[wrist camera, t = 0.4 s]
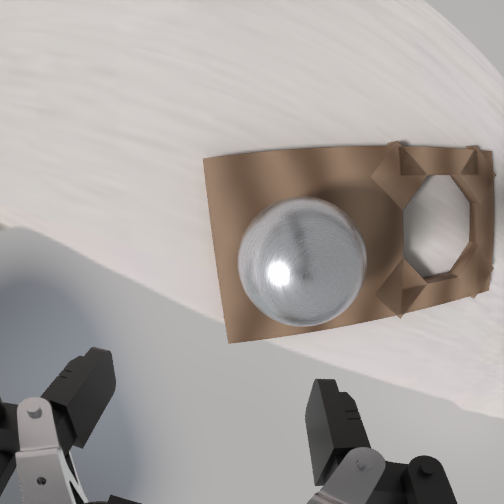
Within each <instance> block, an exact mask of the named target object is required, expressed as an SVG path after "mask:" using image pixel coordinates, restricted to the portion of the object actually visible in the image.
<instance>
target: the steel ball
mask: <svg viewBox="0 0 504 504" xmlns="http://www.w3.org/2000/svg"><path fill="white" fill-rule="evenodd" d="M366 271H367V251H366V246H365V243H364V240H363V237H362V234H361V232H360V230H359V229H358V227H357V225H356V224H355V223H354V221H353V220H352V219H351V218H350V217H349V216H348V215H347V213H345V212H344V211H343V210H342V209H340V208H339V207H337V206H336V205H334V204H332V203H330V202H328V201H325V200H323V199H319V198H316V197H308V196H297V197H290V198H286V199H282V200H279V201H277V202H275V203H273V204H271V205H269V206H268V207H266V208H265V209H263V210H262V211H261V212H260V213H259V214H257V216H256V217H255V218H254V219H253V220H252V221H251V223H250V224H249V225H248V227H247V229H246V231H245V233H244V234H243V237H242V240H241V243H240V247H239V252H238V272H239V277H240V280H241V283H242V286H243V289H244V291H245V292H246V294H247V296H248V298H249V299H250V300H251V302H252V303H253V304H254V305H255V306H256V307H257V308H258V309H259V310H260V311H261V312H262V313H263V314H265V315H266V316H268V317H269V318H271V319H273V320H275V321H278V322H280V323H283V324H286V325H291V326H303V327H304V326H314V325H319V324H322V323H325V322H328V321H330V320H332V319H334V318H335V317H337V316H338V315H340V314H341V313H343V312H344V311H345V310H346V309H347V308H348V307H349V306H350V305H351V304H352V303H353V301H354V300H355V299H356V297H357V296H358V294H359V292H360V290H361V288H362V286H363V283H364V280H365V276H366Z"/></svg>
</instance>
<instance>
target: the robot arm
mask: <svg viewBox="0 0 504 504" xmlns="http://www.w3.org/2000/svg"><path fill="white" fill-rule="evenodd" d="M115 387H116V379H115V373H114V366H113V360H112V354H111V352H110V351H108V350H104V349H99V348H96V347H92V348H91V349H90V350H89V351H88V352H87V353H86V355H85V356H84V357H83V356H79V357H77V358H75V359H73V360H71V361H70V362H69V363H68V364H67V366H66V367H65V368H64V370H63V371H62V372H61V373H60V374H59V376H58V377H56V379H55V380H54V381H53V382H52V383H51V385H50V386H49V387H48V388H47V390H46V391H45V392H44V393H43V394H42V396H41V397H30V398H27V399H25V400H23V401H22V402H21V403H20V404H19V405H16V404H10V403H3V402H2V400H1V398H0V496H1V494H2V492H3V490H4V488H5V487H6V485H7V483H8V480H9V479H10V477H11V476H12V474H13V472H14V470H15V468H16V467H17V471H18V478H19V483H20V489H21V493H22V499H23V503H24V504H141V503H137V502H133V501H130V500H126V499H123V498H120V497H116V496H113V495H110V497H109V500H108V502H105V501H96V502H88V500H87V498H86V497H85V495H84V492H83V490H82V487H81V485H80V481H79V478H78V476H77V472H76V469H75V467H74V463H73V460H72V456H71V453H70V449H71V447H72V445H74V446H77V447H79V448H83V447H84V445H85V443H86V442H87V440H88V438H89V436H90V435H91V433H92V431H93V429H94V427H95V426H96V424H97V422H98V420H99V419H100V417H101V415H102V413H103V411H104V410H105V408H106V406H107V404H108V403H109V401H110V399H111V397H112V396H113V394H114V391H115ZM305 421H306V428H307V434H308V441H309V448H310V454H311V461H312V468H313V475H314V483H315V486H323V487H322V488H321V490H320V491H319V492H318V493H316V494H315V495H314V496H313V497H312V498H311V499H310V500H309V501H308V503H307V504H457V501H456V499H455V496H454V494H453V491H452V488H451V486H450V484H449V481H448V478H447V476H446V474H445V471H444V469H443V466H442V465H441V463H440V462H439V461H438V460H437V459H435V458H433V457H430V456H418V457H415V458H414V459H412V460H411V462H410V463H409V464H401V463H393V462H388V461H385V459H384V458H383V456H382V455H381V454H380V453H379V452H378V451H376V450H374V449H371V446H370V443H369V440H368V437H367V434H366V431H365V429H364V426H363V423H362V420H361V417H360V414H359V412H358V409H357V406H356V403H355V400H354V399H353V398H352V397H351V396H350V395H349V394H348V393H347V392H339V390H338V387H337V384H336V381H335V380H334V379H315V381H314V383H313V387H312V390H311V394H310V397H309V401H308V404H307V407H306V414H305Z"/></svg>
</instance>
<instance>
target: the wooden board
mask: <svg viewBox="0 0 504 504" xmlns="http://www.w3.org/2000/svg"><path fill="white" fill-rule="evenodd" d="M203 164H204V173H205V181H206V190H207V198H208V206H209V214H210V221H211V229H212V237H213V244H214V251H215V258H216V265H217V272H218V279H219V286H220V293H221V299H222V306H223V312H224V319H225V325H226V331H227V337H228V343H237V342H246V341H254V340H262V339H269V338H276V337H283V336H290V335H296V334H303V333H309V332H315V331H321V330H326V329H332V328H337V327H343V326H348V325H353V324H358V323H363V322H368V321H373V320H377V319H382V318H387V317H391V316H395V315H397V316H398V317H399V318H401V317H402V316H403V315H404V313H408V312H412V311H416V310H420V309H424V308H428V307H432V306H436V305H440V304H444V303H447V302H451V301H455V300H458V299H462V298H465V297H469V296H470V297H472V298H475V297H476V295H477V294H479V293H482V292H485V291H488V290H489V285H490V277H491V272H492V270H493V269H494V268H493V266H492V256H493V241H494V178H495V176H496V175H495V173H494V171H493V161H492V151H483V150H479V148H478V147H477V146H466V148H465V149H457V148H440V147H413V146H402V145H401V144H400V143H399V142H398V141H395V142H390V143H388V144H387V145H386V146H353V147H325V148H306V149H291V150H278V151H266V152H256V153H246V154H237V155H228V156H220V157H212V158H204V159H203ZM427 175H450V176H451V177H452V179H453V180H454V181H455V183H456V184H457V186H458V187H459V188H460V190H461V191H462V192H463V194H464V195H465V197H466V198H467V200H468V201H469V202H470V238H469V243H468V245H467V246H466V248H465V249H464V251H463V252H462V254H461V255H460V257H459V258H458V260H457V261H456V263H455V264H454V266H453V267H452V269H451V270H450V272H449V273H444V274H439V275H434V276H430V277H425V278H422V277H421V276H420V275H419V274H418V273H417V272H416V271H415V270H414V268H413V267H412V266H411V265H410V264H409V263H408V262H407V261H406V260H405V259H404V258H403V209H404V208H405V207H406V205H407V204H408V202H409V201H410V200H411V198H412V197H413V195H414V194H415V193H416V191H417V190H418V188H419V187H420V185H421V184H422V182H423V181H424V180H425V178H426V177H427ZM297 196H308V197H316V198H319V199H323V200H325V201H328V202H330V203H332V204H334V205H336V206H337V207H339V208H340V209H342V210H343V211H344V212H345V213H347V215H348V216H349V217H350V218H351V219H352V220H353V221H354V223H355V224H356V225H357V227H358V229H359V230H360V232H361V234H362V237H363V240H364V243H365V246H366V251H367V271H366V276H365V280H364V283H363V286H362V288H361V290H360V292H359V294H358V296H357V297H356V299H355V300H354V301H353V303H352V304H351V305H350V306H349V307H348V308H347V309H346V310H345V311H344V312H343V313H341V314H340V315H338V316H337V317H335V318H334V319H332V320H330V321H328V322H325V323H322V324H319V325H314V326H304V327H303V326H291V325H286V324H283V323H280V322H278V321H275V320H273V319H271V318H269V317H268V316H266V315H265V314H263V313H262V312H261V311H260V310H259V309H258V308H257V307H256V306H255V305H254V304H253V303H252V302H251V300H250V299H249V298H248V296H247V294H246V292H245V291H244V289H243V286H242V283H241V280H240V277H239V272H238V252H239V247H240V243H241V240H242V237H243V234H244V233H245V231H246V229H247V227H248V225H249V224H250V223H251V221H252V220H253V219H254V218H255V217H256V216H257V214H259V213H260V212H261V211H262V210H263V209H265V208H266V207H268V206H269V205H271V204H273V203H275V202H277V201H279V200H282V199H286V198H290V197H297Z"/></svg>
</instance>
